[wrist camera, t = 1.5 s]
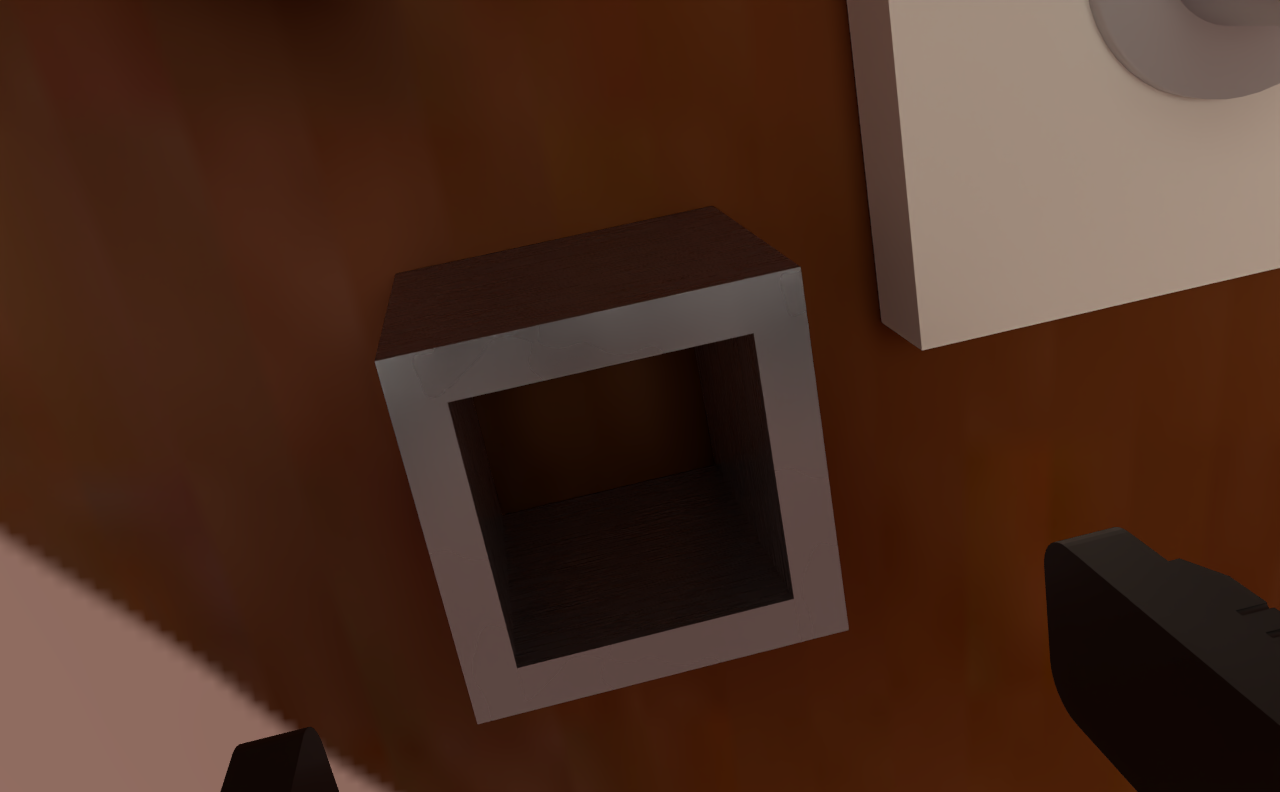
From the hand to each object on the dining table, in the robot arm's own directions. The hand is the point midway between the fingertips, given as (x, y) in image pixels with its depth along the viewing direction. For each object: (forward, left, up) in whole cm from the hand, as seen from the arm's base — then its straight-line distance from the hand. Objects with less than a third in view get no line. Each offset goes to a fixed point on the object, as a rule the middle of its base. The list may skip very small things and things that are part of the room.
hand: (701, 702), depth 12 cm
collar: (0, 0, -10) cm, 10 cm away
